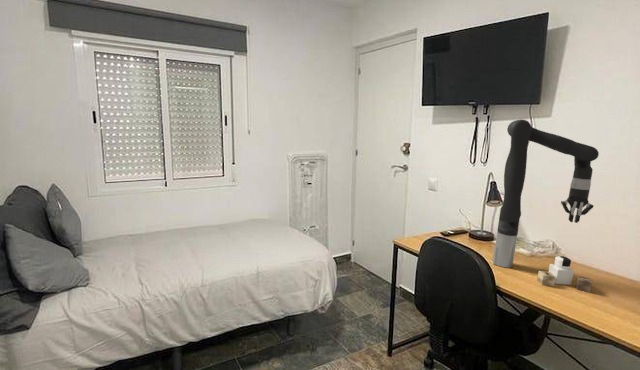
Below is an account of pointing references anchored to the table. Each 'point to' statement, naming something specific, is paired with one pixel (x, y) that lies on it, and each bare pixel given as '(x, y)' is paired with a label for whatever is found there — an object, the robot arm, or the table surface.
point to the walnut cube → (584, 284)
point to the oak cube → (546, 278)
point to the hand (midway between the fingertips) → (573, 222)
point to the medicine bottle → (562, 270)
